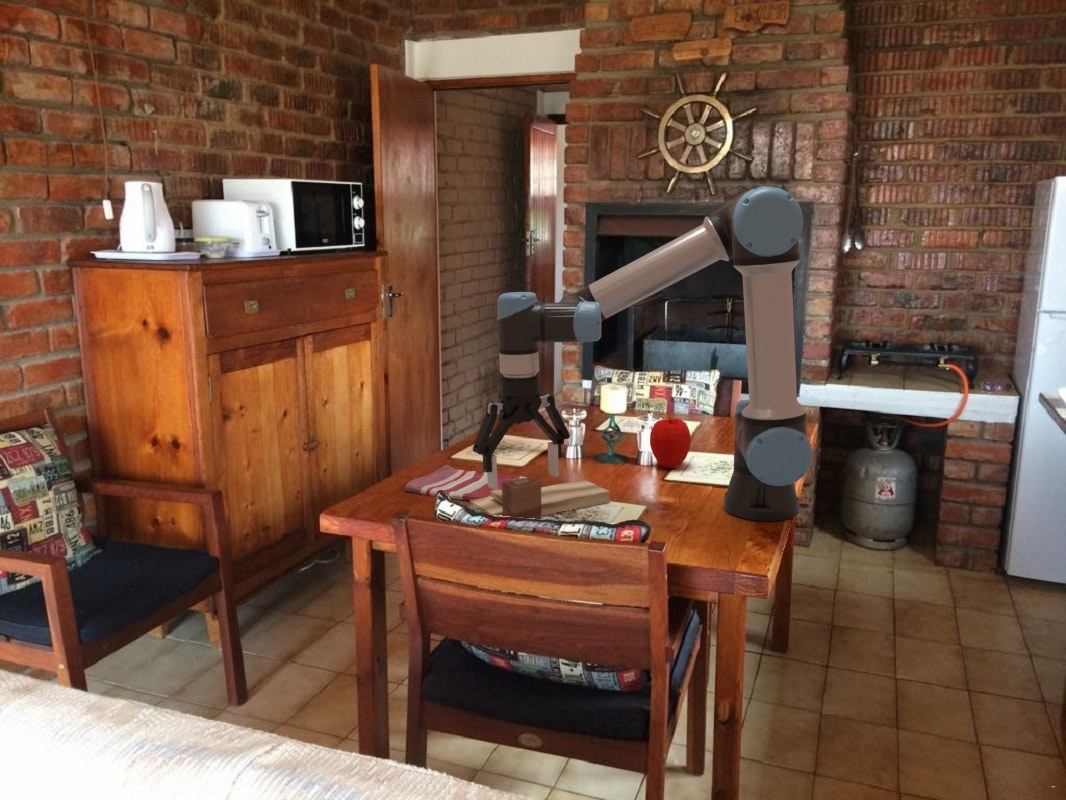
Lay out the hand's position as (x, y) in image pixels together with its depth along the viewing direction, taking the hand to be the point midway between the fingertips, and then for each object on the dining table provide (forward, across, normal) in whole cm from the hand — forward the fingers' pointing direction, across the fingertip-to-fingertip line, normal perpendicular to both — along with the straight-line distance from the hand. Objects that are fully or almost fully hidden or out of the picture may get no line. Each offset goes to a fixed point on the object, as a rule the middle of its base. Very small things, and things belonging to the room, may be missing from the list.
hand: (523, 481), depth 176 cm
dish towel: (+10, -1, -28) cm, 30 cm away
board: (+9, -8, -8) cm, 15 cm away
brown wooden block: (+9, +1, -5) cm, 10 cm away
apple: (+10, -50, -18) cm, 55 cm away
